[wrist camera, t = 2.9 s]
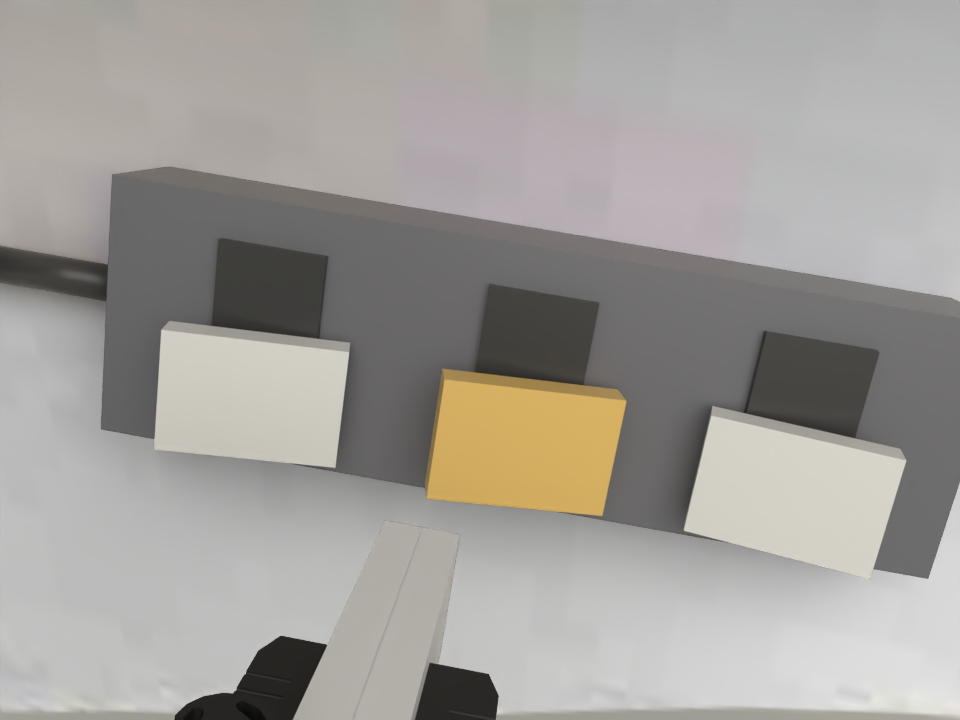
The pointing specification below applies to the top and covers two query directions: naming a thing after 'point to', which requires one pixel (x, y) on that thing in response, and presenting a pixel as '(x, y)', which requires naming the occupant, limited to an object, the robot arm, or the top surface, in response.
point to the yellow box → (523, 443)
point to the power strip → (524, 333)
